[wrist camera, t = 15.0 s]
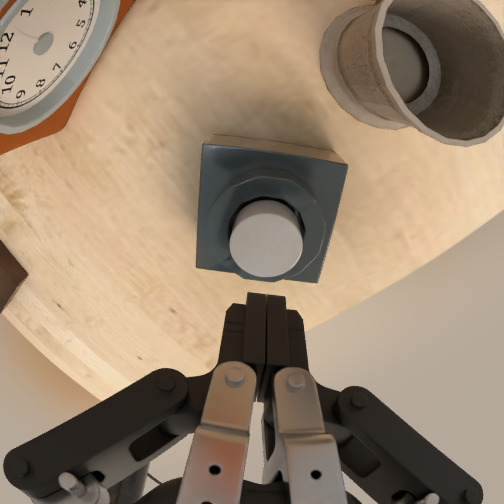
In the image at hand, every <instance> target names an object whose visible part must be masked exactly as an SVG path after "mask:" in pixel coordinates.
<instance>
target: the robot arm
mask: <svg viewBox="0 0 504 504" xmlns="http://www.w3.org/2000/svg"><path fill="white" fill-rule="evenodd" d="M256 397H257V402H263V403H264V412H263V416H262V420H261V423H262V440H263V456H264V468H263V476H262V484H257V483H253V482H250V481H246V480H243V476H244V470H245V464H246V458H247V451H248V444H249V436H250V434H249V429H250V422H251V415H252V409H253V402H255V401H256ZM190 433H194V437H193V441H192V445H191V448H190V452H189V456H188V459H187V463H186V467H185V471H184V474H183V477H180V478H176V479H172V480H169V481H167V482H165V483H161V482H159V481H158V480H157V479H155V478H153V476H151V475H150V474H149V473H148V469H149V464H150V461H152V460H153V459H155V458H156V457H158V456H159V455H161V454H162V453H163V452H165V451H166V450H168V449H169V448H171V447H172V446H173V445H175V444H176V443H178V442H179V441H180V440H182V439H183V438H184V437H186V436H187V435H188V434H190ZM3 468H4V473H5V476H6V478H7V479H8V481H9V482H10V483H11V484H12V485H13V486H15V487H16V488H18V489H19V490H21V491H23V492H24V493H25V494H26V495H28V496H29V497H30V498H31V500H32V502H33V503H34V504H362V503H361V502H360V501H359V500H358V499H357V498H355V497H354V496H353V495H352V494H350V493H349V492H347V491H345V486H344V481H343V475H342V471H343V472H344V473H345V474H346V475H347V476H349V478H350V479H352V480H353V481H354V482H355V483H356V484H357V485H358V486H359V487H360V488H361V489H363V490H364V491H365V492H366V493H367V494H368V495H369V496H370V497H371V498H373V499H374V500H375V501H376V502H377V503H378V504H481V503H482V500H483V490H482V487H481V485H480V484H479V483H478V482H477V481H476V480H475V479H474V478H472V477H471V476H470V475H469V474H467V473H466V472H465V471H464V470H463V469H461V468H460V467H459V466H457V465H456V464H455V463H454V462H453V461H451V460H450V459H449V458H448V457H447V456H445V455H444V454H443V453H442V452H440V451H439V450H438V449H437V448H436V447H434V446H433V445H432V444H431V443H430V442H429V441H427V440H426V439H425V438H424V437H423V436H421V435H420V434H419V433H418V432H417V431H415V430H414V429H413V428H412V427H411V426H409V425H408V424H407V423H406V422H405V421H404V420H402V419H401V418H400V417H399V416H398V415H396V414H395V413H394V412H393V411H392V410H391V409H390V408H388V407H387V406H386V405H385V404H384V403H382V402H381V401H380V400H379V399H378V398H377V397H376V396H375V395H373V394H372V393H371V392H370V391H368V390H367V389H365V388H363V387H359V386H350V387H347V388H345V389H344V390H343V391H341V392H339V391H336V390H332V389H329V388H326V387H324V386H322V385H320V384H318V383H317V382H316V381H315V379H314V377H313V376H312V375H311V374H310V372H309V368H308V358H307V349H306V341H305V332H304V324H303V319H302V318H301V316H300V315H299V313H298V312H297V310H289V309H286V298H285V296H277V295H269V294H267V296H266V294H260V293H251V292H248V293H247V300H246V305H244V304H236V303H233V304H232V305H231V306H230V307H229V308H228V310H227V311H226V316H225V322H224V328H223V334H222V340H221V346H220V353H219V359H218V363H217V365H216V366H215V368H214V369H213V370H212V371H210V372H209V373H207V374H205V375H201V376H195V377H185V376H184V375H183V374H182V373H181V372H179V371H177V370H174V369H170V368H162V369H158V370H155V371H153V372H151V373H150V374H148V375H146V376H145V377H143V378H141V379H140V380H138V381H136V382H135V383H133V384H131V385H130V386H128V387H126V388H125V389H123V390H121V391H119V392H118V393H116V394H114V395H113V396H111V397H109V398H107V399H106V400H104V401H102V402H100V403H99V404H97V405H95V406H93V407H92V408H90V409H88V410H86V411H84V412H83V413H81V414H79V415H77V416H75V417H74V418H72V419H70V420H68V421H66V422H64V423H63V424H61V425H59V426H57V427H55V428H53V429H51V430H50V431H48V432H46V433H44V434H42V435H40V436H38V437H36V438H34V439H32V440H30V441H28V442H26V443H25V444H22V445H20V446H19V447H16V448H14V449H12V450H11V451H10V452H8V454H7V455H6V457H5V459H4V463H3ZM147 476H149V477H150V478H151V479H152V480H154V481H155V482H157V483H158V484H160V485H159V486H157V487H155V488H154V489H153V490H151V491H150V492H148V493H147V494H146V495H144V496H143V497H142V495H143V491H144V486H145V482H146V478H147Z"/></svg>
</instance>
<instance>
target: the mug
mask: <svg viewBox="0 0 504 504" xmlns="http://www.w3.org/2000/svg"><path fill="white" fill-rule="evenodd" d="M384 26H386V27H392V28H398V29H400V30H402V31H404V32H406V33H408V34H409V35H410V36H411V37H413V38H414V39H415V40H416V41H417V42H418V43H419V45H420V46H421V48H422V49H423V51H424V52H425V54H426V57H427V60H428V63H429V80H428V84H427V87H426V89H425V90H424V92H423V93H422V94H421V96H420V97H418V98H417V99H415V100H414V101H412V102H410V103H404V102H403V100H402V99H401V97H400V95H399V94H398V92H397V91H396V89H395V87H394V86H393V84H392V81H391V78H390V75H389V72H388V69H387V66H386V63H385V61H384V58H383V43H382V27H384ZM320 60H321V72H322V74H323V77H324V80H325V82H326V85H327V87H328V90H329V92H330V93H331V94H332V96H333V97H334V98H335V100H336V101H337V102H338V104H339V105H340V106H341V108H342V109H344V110H345V111H346V112H348V113H349V114H350V115H352V116H353V117H354V118H356V119H357V120H358V121H360V122H363V123H366V124H368V125H371V126H373V127H376V128H380V129H394V130H397V129H401V128H405V127H409V126H411V127H414V128H416V129H417V130H418V131H420V132H422V133H424V134H426V135H428V136H430V137H432V138H434V139H435V140H437V141H439V142H441V143H444V144H448V145H455V146H462V147H469V146H472V145H476V144H480V143H484V142H486V141H487V140H489V139H490V138H491V137H492V136H494V135H495V134H496V133H498V132H499V131H500V130H501V129H502V127H503V125H504V33H503V31H502V29H501V27H500V26H499V24H498V22H497V21H496V19H495V18H494V17H493V16H492V15H491V13H490V12H489V11H488V10H487V9H486V8H485V6H484V5H483V4H482V3H481V2H480V1H479V0H375V5H369V6H363V7H357V8H352V9H351V10H349V11H347V12H345V13H344V14H342V15H340V16H338V17H337V18H336V19H335V20H334V22H333V23H332V24H331V25H330V27H329V28H328V29H327V31H326V32H325V35H324V38H323V42H322V45H321V48H320Z"/></svg>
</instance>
